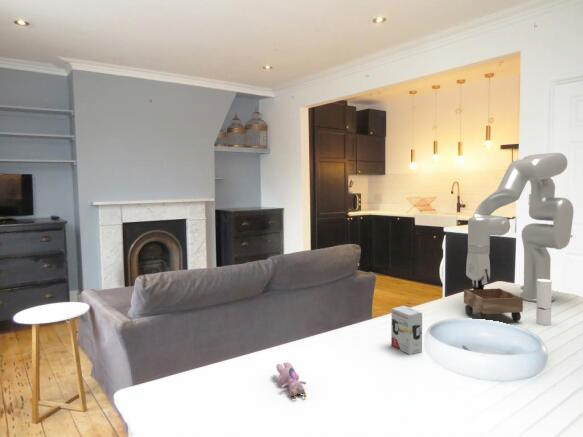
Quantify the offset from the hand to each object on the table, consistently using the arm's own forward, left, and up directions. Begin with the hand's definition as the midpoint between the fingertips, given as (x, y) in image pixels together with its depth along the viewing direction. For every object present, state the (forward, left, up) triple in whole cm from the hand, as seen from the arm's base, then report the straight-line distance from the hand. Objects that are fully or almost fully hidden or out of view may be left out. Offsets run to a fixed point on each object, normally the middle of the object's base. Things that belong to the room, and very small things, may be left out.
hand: (478, 297), depth 160 cm
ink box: (+33, -40, -6) cm, 52 cm away
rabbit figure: (+53, -76, -6) cm, 93 cm away
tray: (+9, 0, -5) cm, 11 cm away
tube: (+17, +14, -6) cm, 23 cm away
